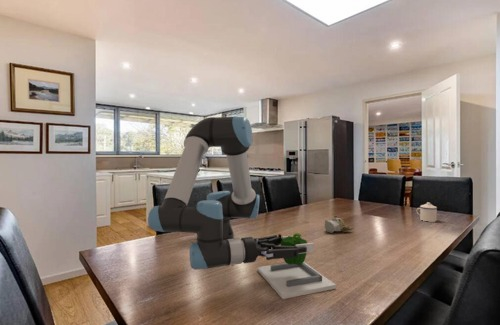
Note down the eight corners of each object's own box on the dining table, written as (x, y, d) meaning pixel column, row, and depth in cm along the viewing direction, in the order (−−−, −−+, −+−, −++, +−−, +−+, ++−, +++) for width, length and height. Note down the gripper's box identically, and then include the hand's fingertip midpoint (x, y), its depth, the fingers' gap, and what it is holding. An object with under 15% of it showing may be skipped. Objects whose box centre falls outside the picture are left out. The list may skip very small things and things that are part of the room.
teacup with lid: (440, 221, 163) (440, 203, 163) (431, 223, 160) (431, 204, 160) (421, 217, 174) (421, 200, 174) (412, 219, 171) (412, 201, 171)
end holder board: (257, 270, 93) (257, 263, 93) (302, 263, 99) (302, 256, 99) (282, 299, 74) (282, 289, 74) (335, 288, 80) (335, 279, 80)
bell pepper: (276, 259, 89) (276, 230, 89) (297, 256, 91) (297, 228, 91) (288, 269, 81) (288, 237, 81) (311, 265, 84) (311, 234, 84)
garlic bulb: (319, 214, 144) (340, 213, 150) (318, 230, 144) (339, 228, 150) (333, 218, 134) (354, 217, 141) (332, 235, 134) (353, 233, 141)
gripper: (232, 251, 90) (291, 244, 98) (253, 277, 70) (325, 266, 78) (232, 229, 90) (291, 224, 98) (253, 249, 70) (325, 240, 78)
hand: (306, 242), depth 88 cm, fingers closed on bell pepper, 8 cm apart
